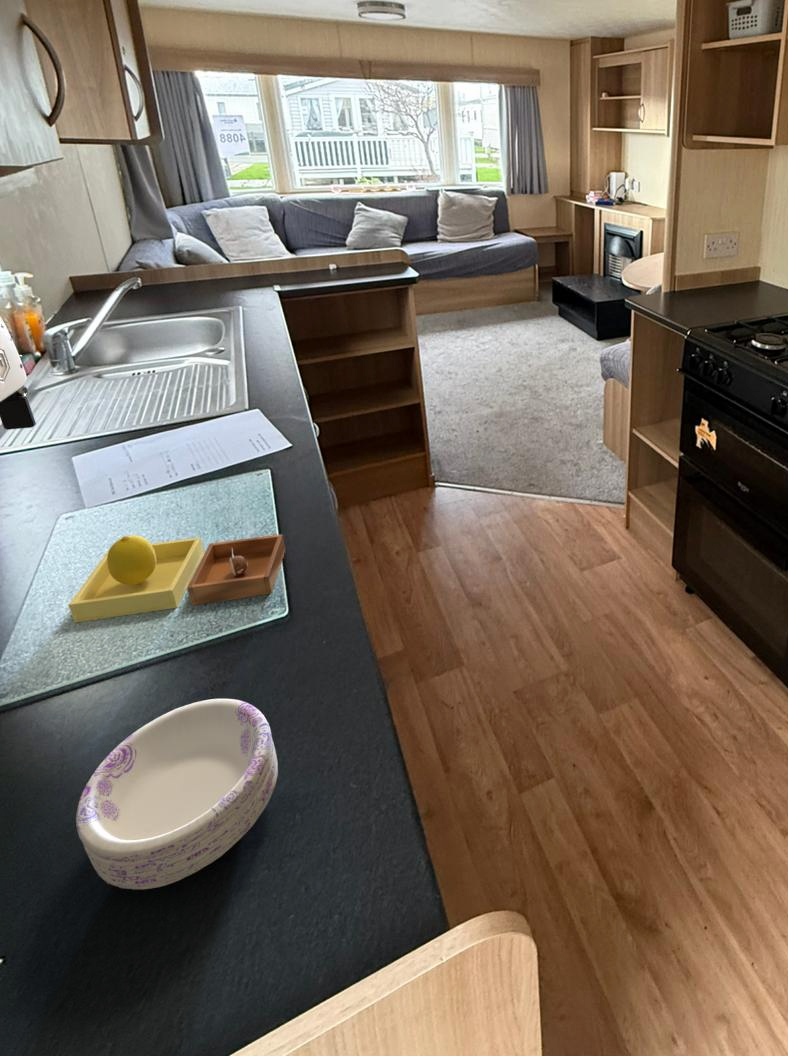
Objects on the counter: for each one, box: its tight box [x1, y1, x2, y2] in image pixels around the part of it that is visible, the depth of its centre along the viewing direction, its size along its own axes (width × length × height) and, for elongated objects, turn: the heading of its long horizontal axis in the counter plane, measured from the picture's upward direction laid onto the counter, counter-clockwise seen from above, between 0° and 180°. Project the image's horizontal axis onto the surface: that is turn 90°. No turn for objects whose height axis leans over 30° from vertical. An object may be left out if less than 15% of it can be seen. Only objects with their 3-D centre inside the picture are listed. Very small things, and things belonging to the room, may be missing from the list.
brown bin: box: [186, 533, 287, 606], centre depth 95 cm, size 10×10×3 cm
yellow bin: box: [68, 537, 205, 624], centre depth 93 cm, size 12×12×3 cm
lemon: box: [107, 535, 156, 585], centre depth 91 cm, size 6×6×8 cm
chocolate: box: [230, 549, 248, 576], centre depth 94 cm, size 3×2×4 cm
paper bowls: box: [75, 698, 279, 891], centre depth 61 cm, size 15×15×8 cm
